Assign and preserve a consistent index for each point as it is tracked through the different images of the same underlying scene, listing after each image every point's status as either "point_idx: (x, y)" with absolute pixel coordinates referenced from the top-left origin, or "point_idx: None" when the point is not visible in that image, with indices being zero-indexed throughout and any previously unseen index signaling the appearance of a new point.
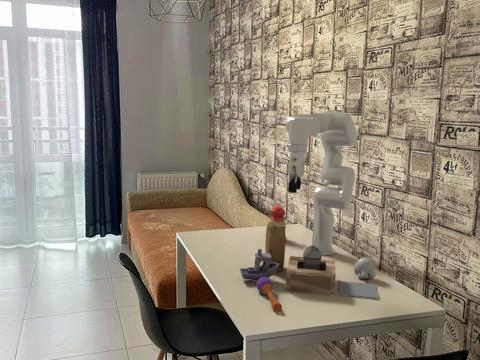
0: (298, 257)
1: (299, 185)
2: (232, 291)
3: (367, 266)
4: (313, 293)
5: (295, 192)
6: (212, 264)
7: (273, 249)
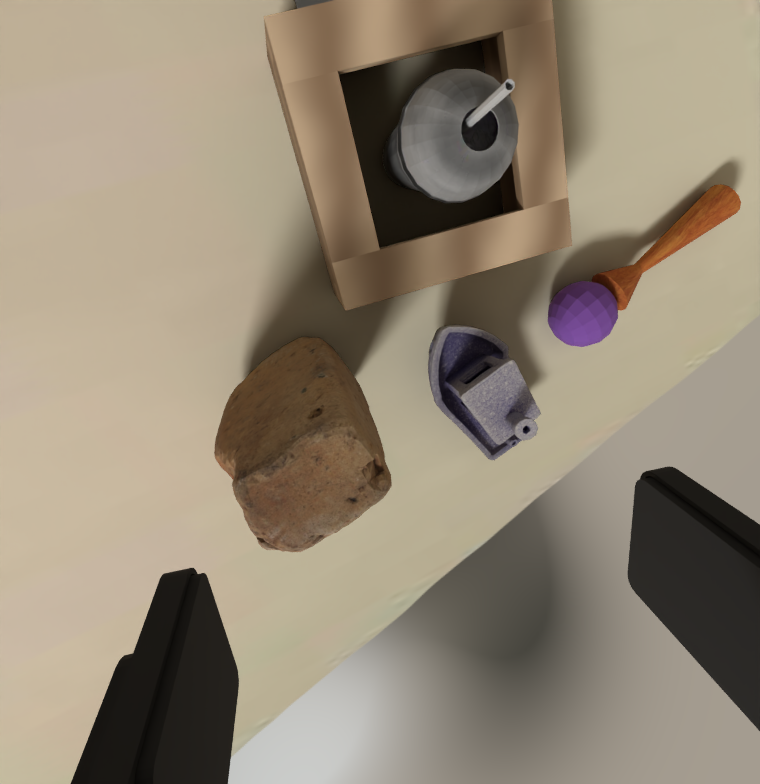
0: (347, 259)
1: (190, 647)
2: (595, 405)
3: None
4: None
5: (670, 474)
6: (386, 581)
7: (367, 406)
